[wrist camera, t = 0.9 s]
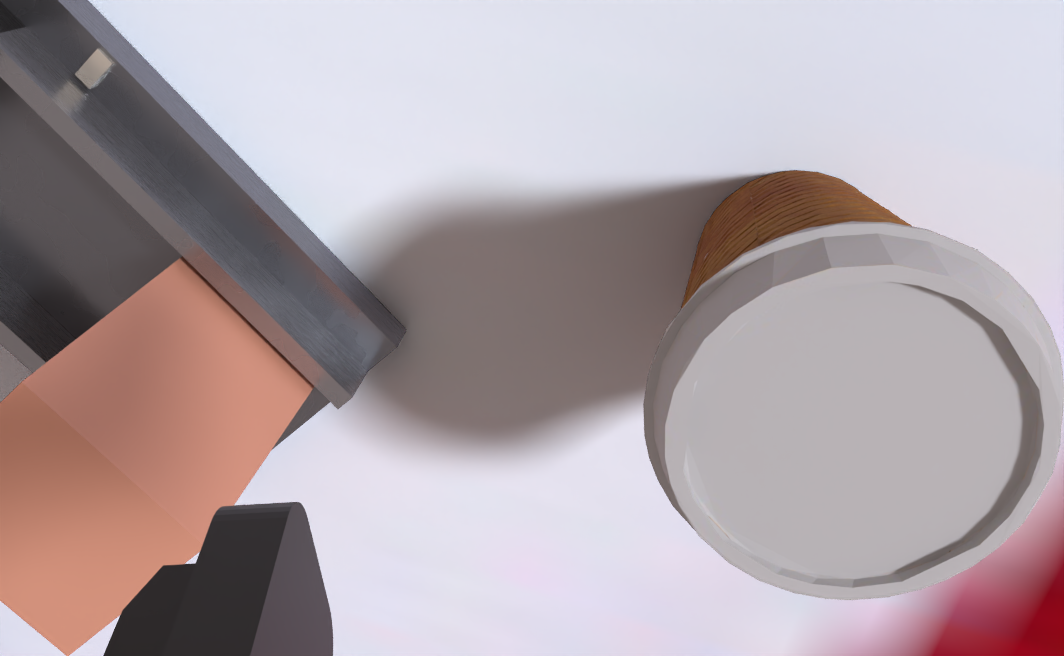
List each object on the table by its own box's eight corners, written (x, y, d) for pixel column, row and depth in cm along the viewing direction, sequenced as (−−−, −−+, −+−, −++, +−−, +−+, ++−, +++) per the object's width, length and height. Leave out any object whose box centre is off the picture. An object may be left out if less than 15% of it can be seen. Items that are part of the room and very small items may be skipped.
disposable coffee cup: (764, 59, 31) (824, 153, 20) (1005, 227, 32) (1186, 402, 21) (591, 295, 35) (562, 482, 24) (813, 438, 36) (883, 679, 25)
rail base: (406, 329, 36) (370, 394, 31) (211, 490, 40) (154, 568, 35) (30, -60, 32) (-74, -51, 27) (-148, 160, 36) (-265, 200, 31)
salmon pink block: (323, 374, 35) (205, 547, 26) (212, 465, 37) (67, 656, 28) (194, 246, 33) (21, 382, 24) (87, 349, 35) (-109, 510, 26)
